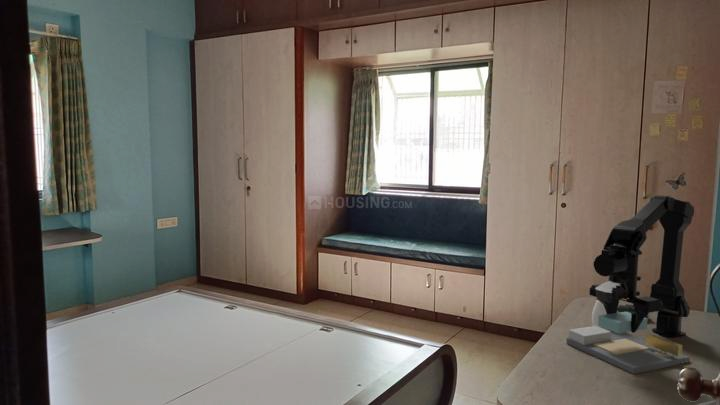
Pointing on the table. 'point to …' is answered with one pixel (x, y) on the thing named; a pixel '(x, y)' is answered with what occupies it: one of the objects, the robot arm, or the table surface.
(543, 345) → the table surface
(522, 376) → the table surface
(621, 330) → the cover
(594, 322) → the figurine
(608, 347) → the panel
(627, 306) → the flashlight
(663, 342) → the yellow rectangular block
